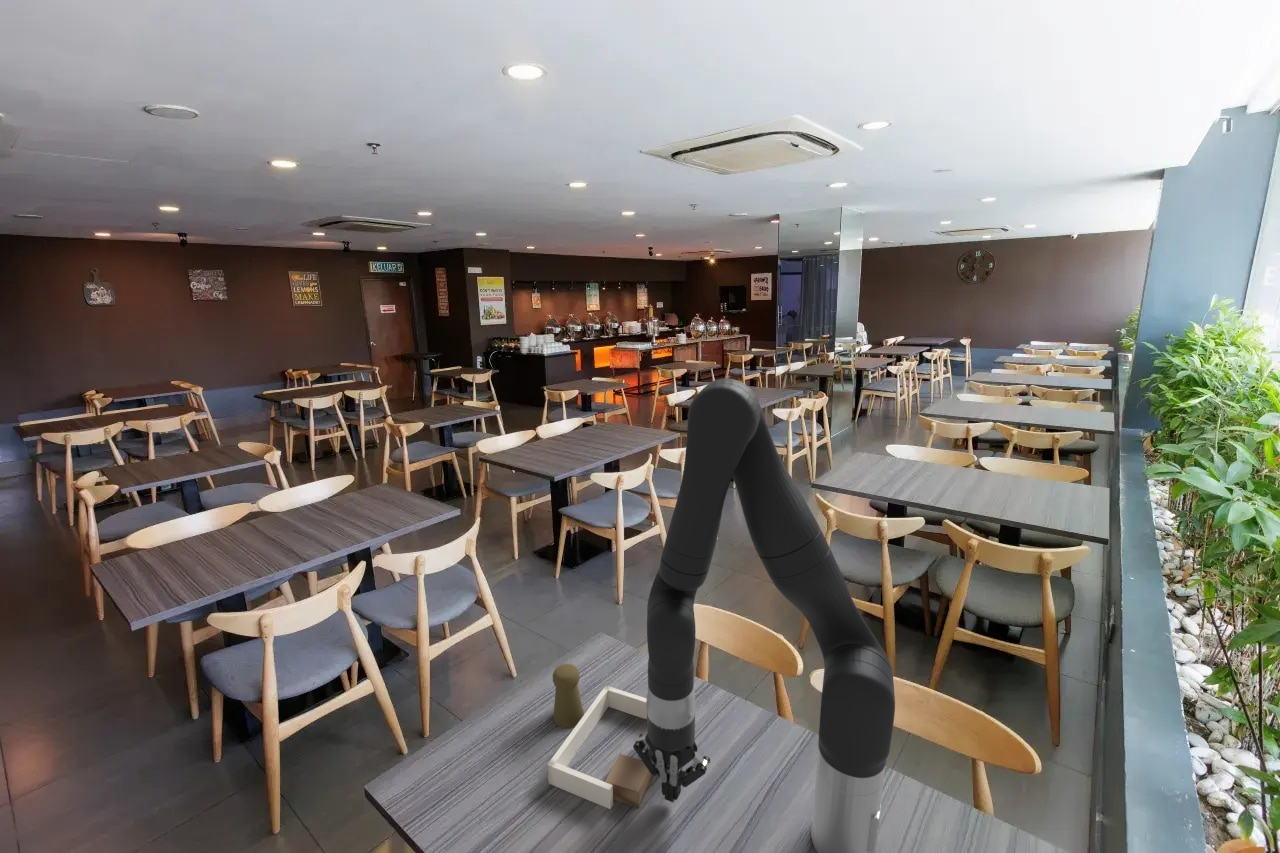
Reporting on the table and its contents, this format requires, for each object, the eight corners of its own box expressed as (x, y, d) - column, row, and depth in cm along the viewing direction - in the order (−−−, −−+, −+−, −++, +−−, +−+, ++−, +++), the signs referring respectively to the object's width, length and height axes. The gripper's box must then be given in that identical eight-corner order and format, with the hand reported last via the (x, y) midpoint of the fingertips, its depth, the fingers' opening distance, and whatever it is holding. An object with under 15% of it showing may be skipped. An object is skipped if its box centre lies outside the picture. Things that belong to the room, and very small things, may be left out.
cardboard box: (651, 779, 99) (651, 763, 98) (639, 809, 94) (639, 792, 93) (620, 769, 102) (619, 753, 101) (606, 797, 96) (605, 781, 95)
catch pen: (660, 720, 112) (660, 702, 111) (610, 809, 94) (609, 790, 93) (606, 701, 117) (605, 685, 116) (548, 783, 99) (547, 764, 98)
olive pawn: (550, 709, 115) (547, 662, 112) (580, 702, 117) (578, 656, 114) (555, 731, 110) (552, 683, 107) (586, 723, 111) (584, 675, 109)
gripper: (719, 705, 90) (716, 793, 95) (642, 681, 95) (643, 765, 100) (703, 740, 83) (702, 832, 88) (622, 712, 89) (624, 800, 94)
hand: (671, 796), depth 94 cm, fingers closed
